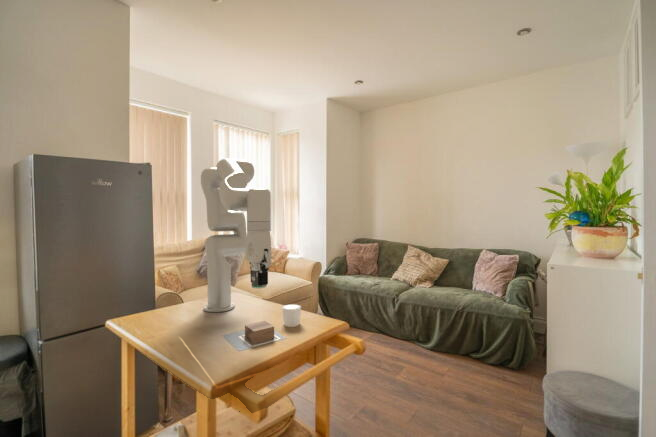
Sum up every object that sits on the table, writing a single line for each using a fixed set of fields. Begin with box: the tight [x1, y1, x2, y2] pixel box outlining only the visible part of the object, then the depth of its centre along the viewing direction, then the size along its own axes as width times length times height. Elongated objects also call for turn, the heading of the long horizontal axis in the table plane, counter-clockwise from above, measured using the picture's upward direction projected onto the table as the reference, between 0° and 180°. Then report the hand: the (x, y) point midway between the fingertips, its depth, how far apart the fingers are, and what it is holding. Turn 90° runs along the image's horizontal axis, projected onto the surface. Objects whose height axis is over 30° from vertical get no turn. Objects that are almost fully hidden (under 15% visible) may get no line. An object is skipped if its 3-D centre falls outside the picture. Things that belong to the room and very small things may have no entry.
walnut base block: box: [244, 320, 275, 344], centre depth 103 cm, size 7×7×4 cm
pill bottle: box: [250, 261, 268, 290], centre depth 102 cm, size 5×5×8 cm
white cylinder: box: [281, 303, 302, 328], centre depth 116 cm, size 7×7×7 cm
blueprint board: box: [221, 329, 287, 352], centre depth 104 cm, size 15×16×1 cm
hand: (259, 282), depth 102 cm, fingers closed on pill bottle, 4 cm apart
